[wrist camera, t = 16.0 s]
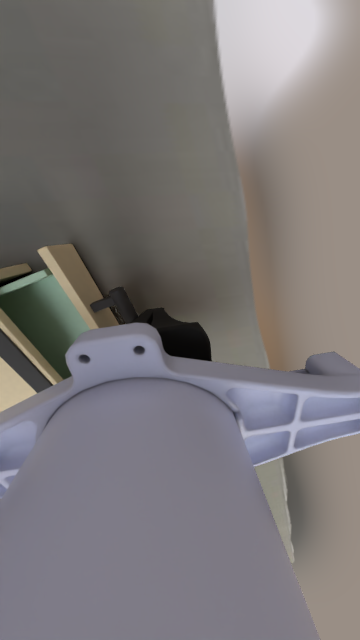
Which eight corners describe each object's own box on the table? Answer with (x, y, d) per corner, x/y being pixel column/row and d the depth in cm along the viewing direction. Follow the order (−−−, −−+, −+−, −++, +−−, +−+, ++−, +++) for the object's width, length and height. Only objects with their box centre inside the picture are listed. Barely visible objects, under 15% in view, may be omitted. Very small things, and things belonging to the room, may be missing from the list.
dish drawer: (-107, 318, 14) (-232, 357, 10) (26, 262, 13) (-44, 277, 9) (21, 424, 20) (-20, 479, 16) (119, 391, 19) (105, 439, 15)
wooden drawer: (-70, 302, 14) (-130, 320, 11) (104, 229, 12) (87, 228, 10) (51, 416, 20) (32, 446, 17) (175, 374, 18) (177, 399, 16)
